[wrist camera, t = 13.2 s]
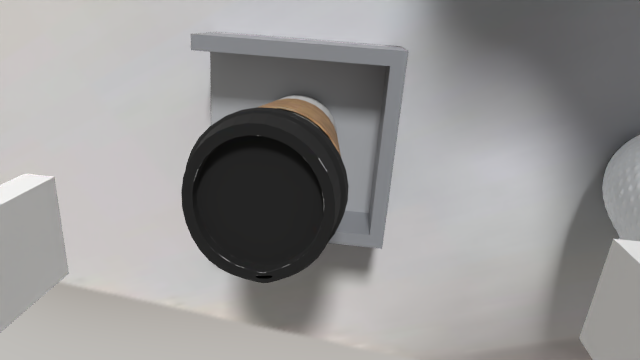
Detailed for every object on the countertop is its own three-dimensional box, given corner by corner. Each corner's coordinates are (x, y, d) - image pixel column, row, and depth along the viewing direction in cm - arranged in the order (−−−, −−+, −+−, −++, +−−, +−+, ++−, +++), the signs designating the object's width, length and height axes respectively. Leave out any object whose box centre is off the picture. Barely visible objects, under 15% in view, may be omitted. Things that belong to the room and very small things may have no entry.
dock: (216, 31, 34) (190, 33, 29) (400, 46, 34) (408, 51, 28) (217, 201, 39) (195, 229, 34) (379, 217, 38) (381, 248, 33)
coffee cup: (252, 186, 37) (183, 288, 23) (238, 80, 34) (150, 122, 20) (355, 182, 36) (351, 287, 22) (350, 73, 33) (341, 112, 19)
